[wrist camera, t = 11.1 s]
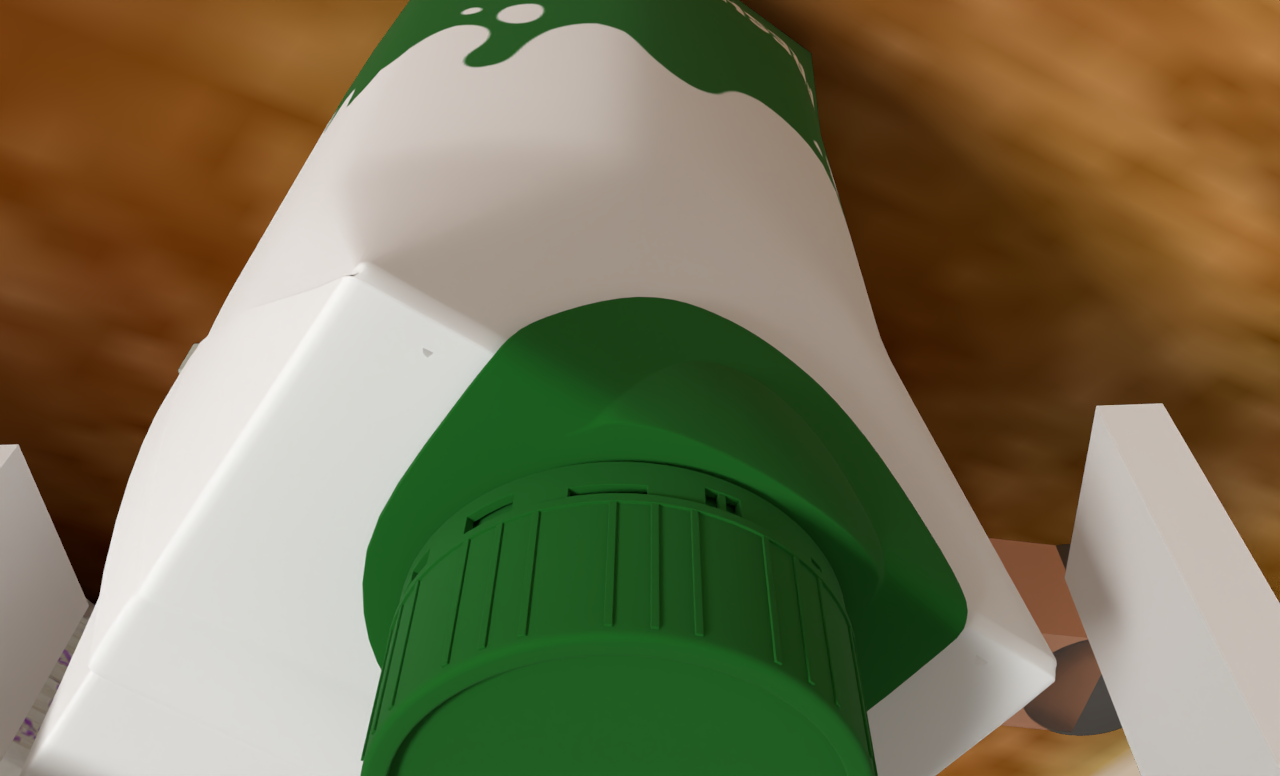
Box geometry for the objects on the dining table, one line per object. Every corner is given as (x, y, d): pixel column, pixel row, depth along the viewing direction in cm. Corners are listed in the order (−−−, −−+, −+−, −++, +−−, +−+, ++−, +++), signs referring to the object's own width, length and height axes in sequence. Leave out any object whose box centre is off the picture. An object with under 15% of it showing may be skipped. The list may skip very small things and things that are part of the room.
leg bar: (405, 578, 29) (382, 672, 27) (408, 463, 27) (384, 553, 25) (1094, 651, 30) (1133, 747, 28) (1147, 545, 28) (1194, 639, 26)
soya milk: (871, 42, 26) (1248, 873, 10) (631, 332, 30) (603, 1257, 14) (527, -218, 23) (214, 316, 7) (315, 141, 27) (-198, 1014, 11)
